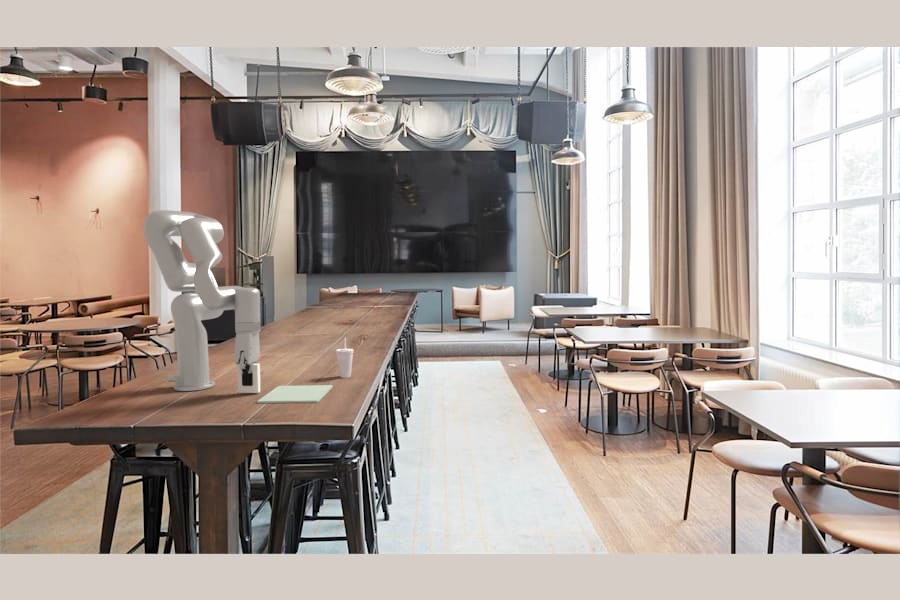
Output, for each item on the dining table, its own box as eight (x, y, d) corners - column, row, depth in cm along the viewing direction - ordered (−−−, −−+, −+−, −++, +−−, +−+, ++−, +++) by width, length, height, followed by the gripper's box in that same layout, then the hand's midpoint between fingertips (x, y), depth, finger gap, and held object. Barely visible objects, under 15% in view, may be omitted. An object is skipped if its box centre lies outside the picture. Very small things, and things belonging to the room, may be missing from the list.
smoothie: (342, 379, 203) (340, 339, 202) (333, 376, 208) (331, 337, 207) (357, 376, 207) (356, 337, 206) (348, 373, 212) (347, 335, 211)
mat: (257, 403, 172) (257, 401, 172) (278, 387, 192) (278, 385, 192) (317, 402, 172) (317, 400, 172) (332, 386, 192) (332, 385, 192)
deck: (238, 392, 184) (237, 364, 183) (240, 390, 186) (240, 363, 185) (258, 393, 183) (257, 364, 183) (260, 391, 186) (260, 363, 185)
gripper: (245, 323, 191) (246, 378, 192) (225, 330, 175) (227, 390, 177) (268, 323, 191) (269, 379, 192) (250, 331, 175) (251, 391, 176)
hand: (249, 384), depth 184 cm, fingers closed on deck, 2 cm apart
